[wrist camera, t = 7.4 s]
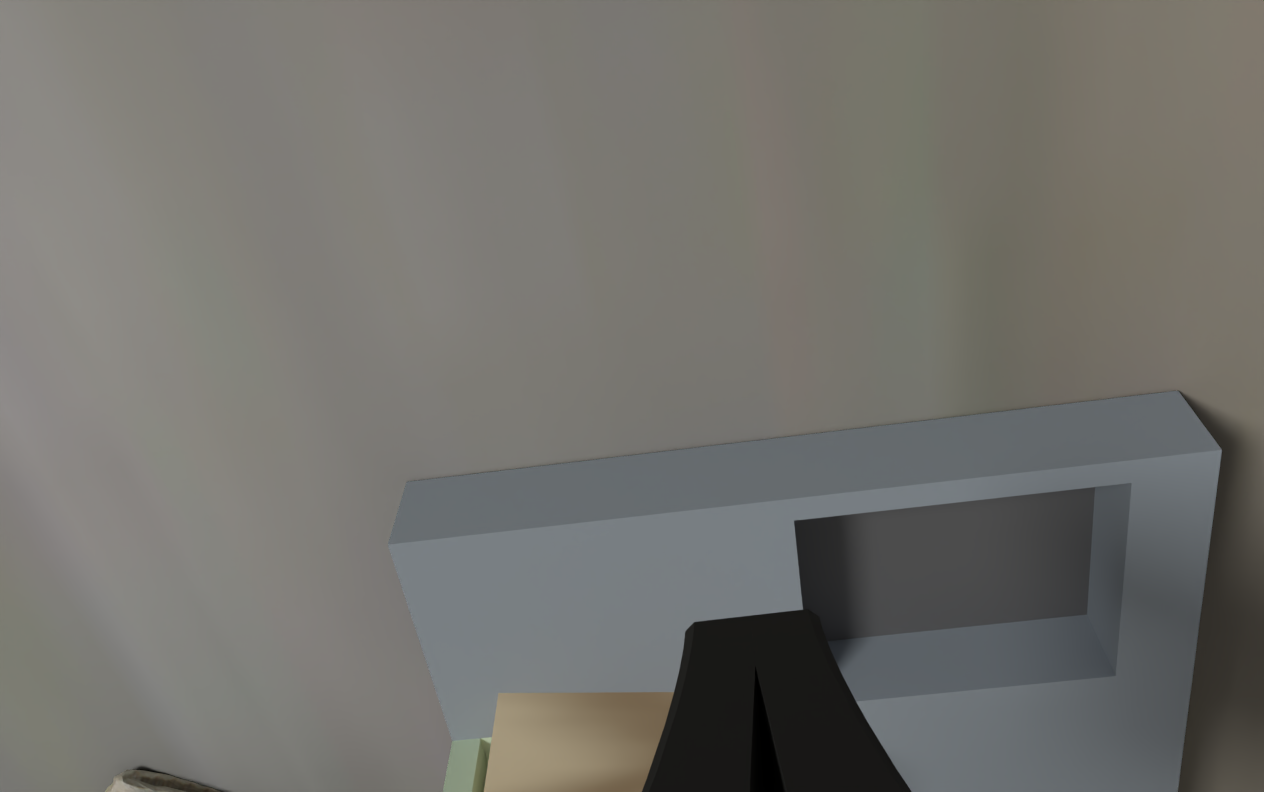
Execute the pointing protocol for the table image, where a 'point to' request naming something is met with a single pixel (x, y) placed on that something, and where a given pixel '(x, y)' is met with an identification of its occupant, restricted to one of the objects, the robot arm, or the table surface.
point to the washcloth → (153, 783)
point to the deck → (853, 583)
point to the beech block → (575, 741)
